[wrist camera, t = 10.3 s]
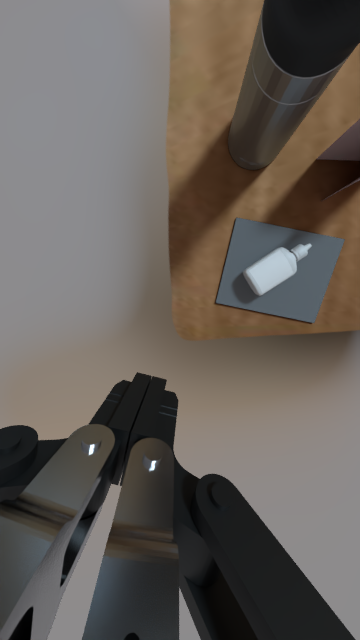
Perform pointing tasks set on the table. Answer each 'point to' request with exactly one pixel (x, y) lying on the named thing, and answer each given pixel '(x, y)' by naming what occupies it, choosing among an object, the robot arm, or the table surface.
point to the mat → (295, 292)
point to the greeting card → (345, 148)
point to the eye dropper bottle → (274, 268)
